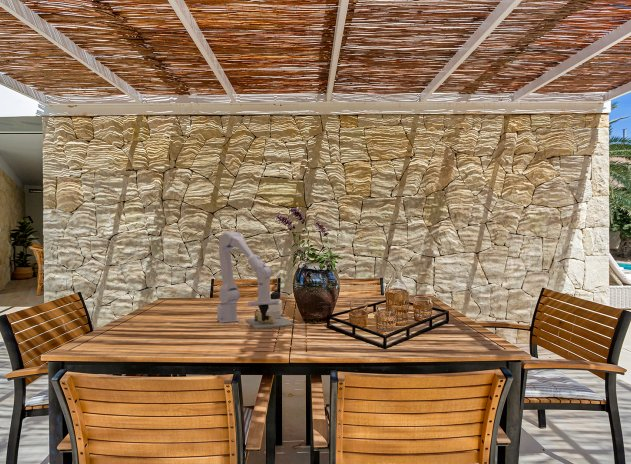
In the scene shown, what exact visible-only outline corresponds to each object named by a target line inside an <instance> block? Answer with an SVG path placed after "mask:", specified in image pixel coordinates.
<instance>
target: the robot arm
mask: <svg viewBox="0 0 631 464" xmlns="http://www.w3.org/2000/svg"><path fill="white" fill-rule="evenodd" d="M234 248H237V249H239V251H240V252H241V253H242V254H243V255H244V256H245V257H246V258H247V263H248V265H249V266H250V267H251V269H253V271H254V272H255V277H256V280H257V281H256V282H257V300H254V301H248V304H247V305H248V307H258V310H259V311H260V312H261V314H262V321H265V315H266V312H267V310H268V308H269V306H268V305H279V301H278V300H270V292H271V278H272V276H273V270H272V268H271V267H270V266H269V265H268V266H267V265H266V263H264V262H263V260H262V259H261V256H260V255H258V254H254V253H253V251H252V250H251V248H250V247H249V246H248V244H247V243H246V241H245V238H244V236H243V235H242V234H241V233H240V232H239V231H238V232H237V231H234V232H232V231H230V232H227V231H225V232H223V233H222V234H221V235H220V236H219V246H218V254H219V255H218V256H219V263H220V264H219V265H220V272H221V281H222V284H221V286H220V287H219V292H218V293H219V295H218V299H219V301H220V303H217V306H216V311H217V312H216V313H217V314H216V315H217V317H216V320H217V321H218V322H219V324H220V323H221V324H222V323H234V322H240V320H239V318H238V308H237V307H238V300H239V299H240V297H241V294H240V291H239V288H238V285H237V284H236V283H235V282H234V281H235V280H234V274H233V273H234V271H233V265H232V255H231V251H232V250H233V249H234Z"/></svg>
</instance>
